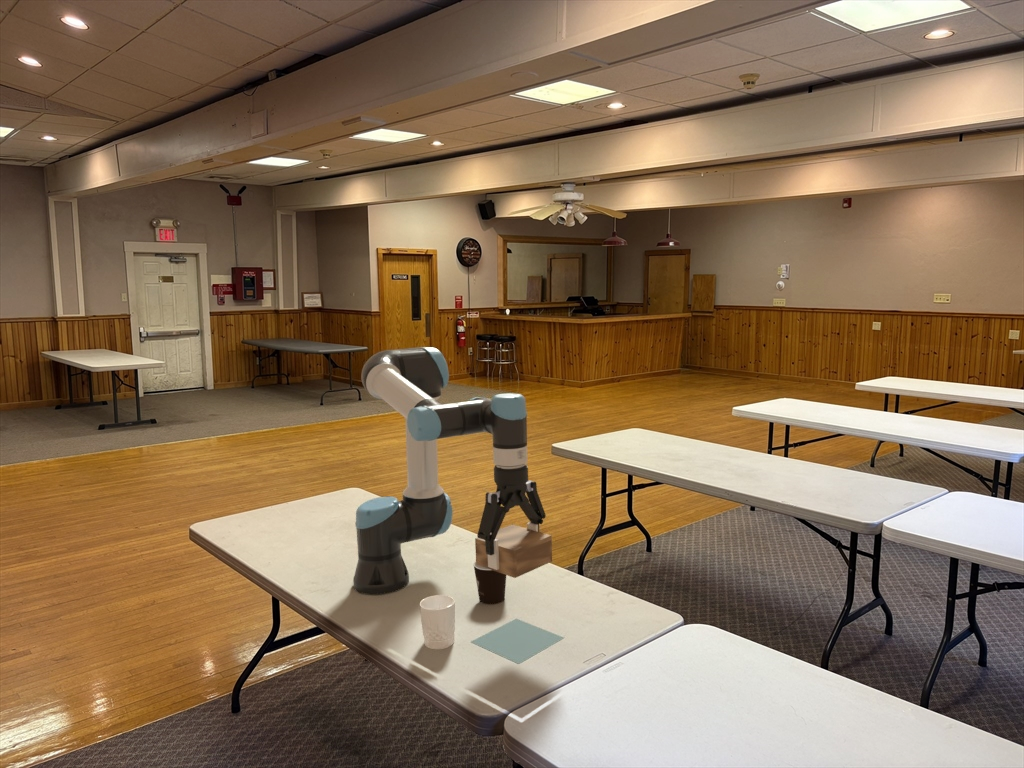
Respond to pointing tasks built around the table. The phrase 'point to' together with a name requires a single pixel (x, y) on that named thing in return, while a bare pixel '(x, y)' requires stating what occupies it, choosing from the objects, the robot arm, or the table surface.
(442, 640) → the white cup
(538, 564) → the brown wooden block
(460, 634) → the table surface
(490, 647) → the mat
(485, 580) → the coffee mug
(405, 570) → the robot arm
